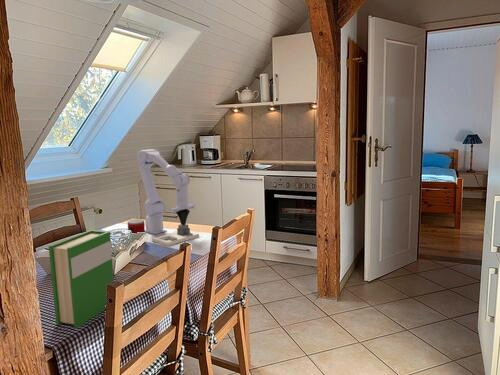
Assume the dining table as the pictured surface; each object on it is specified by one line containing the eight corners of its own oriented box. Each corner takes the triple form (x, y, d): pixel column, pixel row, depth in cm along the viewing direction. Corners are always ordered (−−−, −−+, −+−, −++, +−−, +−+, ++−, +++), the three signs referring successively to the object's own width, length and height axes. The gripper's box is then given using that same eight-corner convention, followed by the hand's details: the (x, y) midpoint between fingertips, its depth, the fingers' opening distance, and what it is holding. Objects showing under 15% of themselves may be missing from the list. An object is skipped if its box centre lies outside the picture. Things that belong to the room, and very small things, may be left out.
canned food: (147, 240, 201) (146, 219, 199) (141, 245, 193) (140, 223, 192) (132, 240, 202) (131, 218, 200) (126, 245, 194) (124, 222, 192)
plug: (177, 236, 206) (177, 225, 205) (184, 234, 210) (183, 223, 209) (183, 237, 204) (182, 226, 203) (190, 235, 207) (189, 224, 206)
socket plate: (152, 241, 200) (152, 237, 199) (183, 232, 214) (183, 228, 214) (167, 246, 192) (167, 241, 191) (199, 236, 207) (198, 232, 206)
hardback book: (76, 328, 117) (69, 248, 113) (56, 324, 119) (48, 246, 115) (115, 302, 133) (109, 231, 129) (96, 299, 135) (90, 229, 131)
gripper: (175, 201, 195) (177, 228, 198) (198, 196, 206) (199, 222, 208) (166, 199, 200) (168, 226, 202) (189, 195, 211) (190, 220, 213)
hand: (183, 224), depth 206 cm, fingers closed
